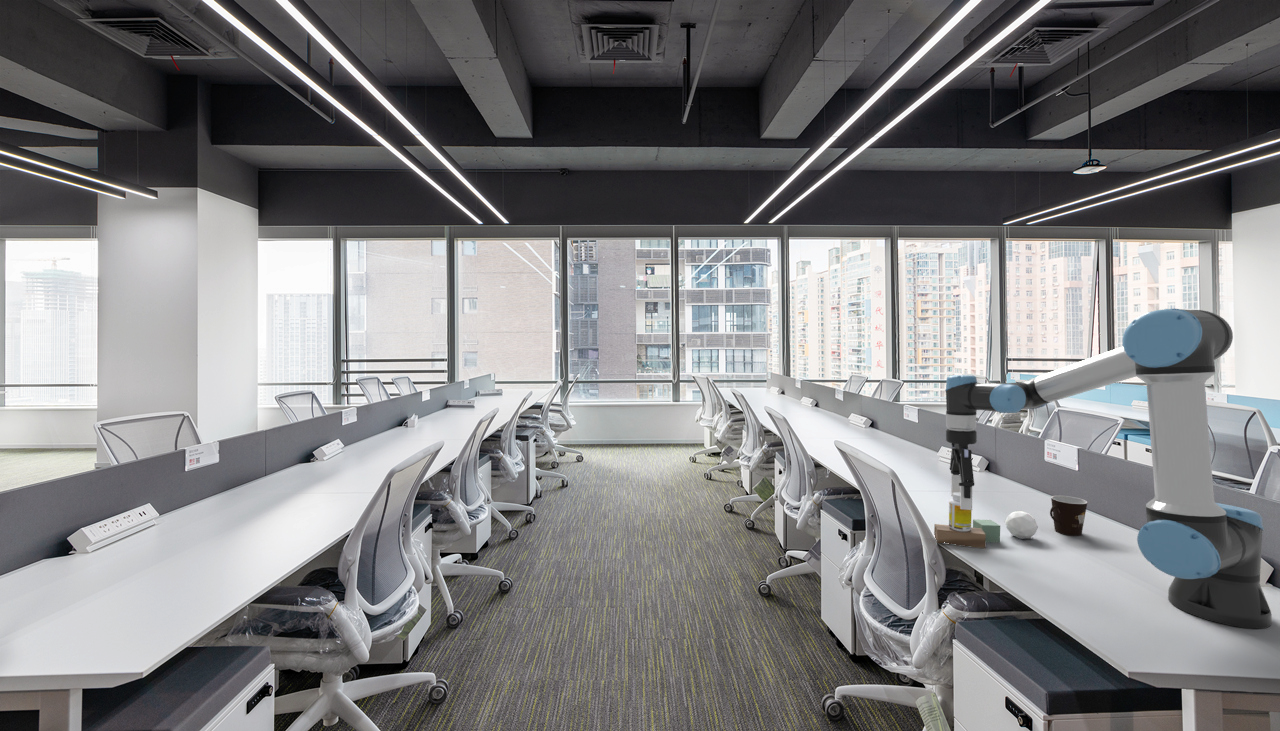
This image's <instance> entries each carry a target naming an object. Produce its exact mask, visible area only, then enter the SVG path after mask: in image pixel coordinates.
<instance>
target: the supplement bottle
mask: <svg viewBox="0 0 1280 731" xmlns="http://www.w3.org/2000/svg"><path fill="white" fill-rule="evenodd" d="M972 511H973V509H972V510H965V509H960V492H954V493H953V496H951V499H949V501H948V525H949V527H950V528H951V529H953V530H956V531H961V532H967V531H970V530H971V528H972Z"/></svg>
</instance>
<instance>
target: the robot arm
mask: <svg viewBox="0 0 1280 731" xmlns="http://www.w3.org/2000/svg"><path fill="white" fill-rule="evenodd" d="M1233 338H1234V334H1233V330H1232V327H1231V326H1230V324H1229V322H1227V320H1226V319H1224V318H1223V317H1222V316H1220V315H1218V314H1216V313H1214V312H1212V311H1208V310H1207V311H1206V310H1203V309H1201V310H1200V309H1181V308H1164V309H1157V310H1152V311H1148V312H1146V313H1143V314H1141V315H1139V316H1137V317H1136V318H1135V319H1133V321H1131V322H1130V323H1129V325H1127V327H1126V328H1125V331H1124V332H1123V336H1122V346H1121V347H1118V348H1114V349H1112V350H1109V351H1106V352H1103V353H1101V354H1098V355H1094V356H1091V357H1089V358H1086V359H1083V360H1081V361H1078V362H1075V363H1072V364H1069V365H1067V366H1064V367H1060V368H1057V369H1055V370H1053V371H1050V372H1046V373H1044V374H1041V375H1038V376H1036V377H1033V378H1030V379H1027V380H1024V381H1019V382H1007V383H1006V382H1005V383H1004V382H1003V383H983V382H981V383H980V382H978V380H977V376H975V375H973V374H972V375H970V374H953V375H948V376H947V378H946V380H945V382H946V383H945V390H944V391H945V401H946V402H945V404H946V412H945V427H946V430H945V441H946V442H947V443H949V444H951V451H950V452H951V454H950V465H949V470H950V473H951V474H950V477H951V478H950V481H951V482H950V484H951V485H950V488H951V490H950V491H951V492H950V494H951V495H950V496H951V497H952V496H953V493H954V492H960V509H965V510H972V511H973V487H974V486H975V479H974V478H975V477H974V470H973V469H974V468H973V460H972V453H973V452H972V449H969V447H968V445H976V444H977V441H978V440H977V439H978V436H977V434H978V433H977V431H976V430H975V429H977V422H978V421H980V420H979V418H978V417H977V411H987V412H995V413H1002V414H1016V413H1019V412H1021V410H1035V409H1040V408H1043V407H1046V405H1048V404H1049V403H1052V402H1057V401H1060V400H1063V399H1066V398H1069V397H1073V396H1075V395H1079V394H1083V393H1086V392H1089V391H1092V390H1096V389H1099V388H1102V387H1105V386H1109V385H1112V384H1116V383H1119V382H1122V381H1126V380H1128V379H1129V380H1130V379H1132V378H1135V377H1136V378H1138V379H1139V380H1140V381H1142V382H1144V383H1145V385H1146V395H1147V409H1148V422H1149V435H1150V436H1149V437H1150V448H1151V460H1152V461H1151V462H1152V475H1153V487H1154V497H1153V498H1152V499H1150V500H1149V501H1148V502H1146V503H1145V512H1146V523H1145V524H1143V525H1142V526H1141V528H1140V529H1139V531H1138V533H1137V538H1136V540H1137V546H1138V548H1139V550H1140V553H1141V554H1142V555H1143V557H1144V558H1145V560H1147V562H1149V563H1150V564H1151V565H1152V566H1154V568H1155V569H1157V570H1158V571H1161V572H1162V573H1164V574H1166V575H1168V576H1170V577H1174V578H1173V580H1172V582H1171V583H1170V586H1169V587H1168V593H1167V594H1168V595H1167V596H1168V597H1167V600H1168V602H1169V603H1170V604H1171V605H1174V606H1175V607H1176V608H1178V609H1180V611H1181V610H1182V611H1183V612H1185V613H1187V614H1190V615H1194V616H1196V617H1198V618H1201V619H1205V620H1207V621H1211V622H1214V623H1219V624H1223V625H1227V626H1233V627H1238V628H1245V629H1265V628H1268V627H1270V626H1271V625H1272V611H1271V608H1270V606H1269V604H1268V601H1267V599H1266V596H1265V593H1264V591H1263V589H1262V586H1261V564H1262V545H1263V544H1262V543H1263V531H1264V530H1265V529H1264V526H1263V517H1262V515H1261V514H1260V513H1259V512H1256V511H1254V510H1251V509H1248V508H1243V507H1240V506H1235V505H1230V504H1224V503H1219V502H1216V501H1215V494H1214V482H1213V481H1214V480H1213V479H1214V478H1213V469H1212V468H1213V467H1212V457H1211V456H1212V455H1211V454H1212V453H1211V444H1210V443H1211V442H1210V433H1209V432H1210V430H1209V419H1208V408H1207V407H1208V406H1207V394H1206V382H1207V381H1208V380H1209V379H1210V378H1211V377H1213V376H1214V375H1215V374H1216V368H1215V366H1216V365H1215V361H1216V360H1217V359H1218V358H1220V357H1222V356H1223V355H1224V354H1225V353H1227V352H1228V350H1230V349H1229V348H1231V345H1232V343H1233Z"/></svg>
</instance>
